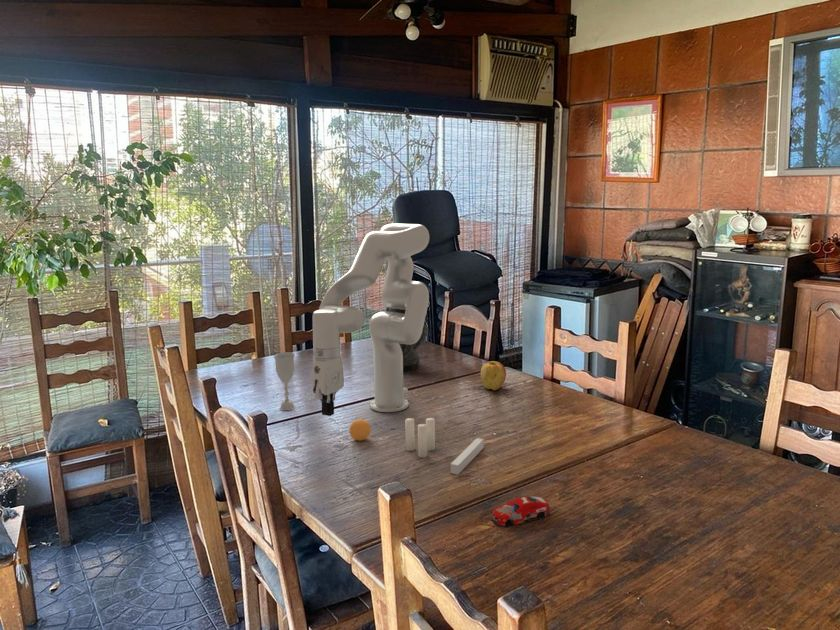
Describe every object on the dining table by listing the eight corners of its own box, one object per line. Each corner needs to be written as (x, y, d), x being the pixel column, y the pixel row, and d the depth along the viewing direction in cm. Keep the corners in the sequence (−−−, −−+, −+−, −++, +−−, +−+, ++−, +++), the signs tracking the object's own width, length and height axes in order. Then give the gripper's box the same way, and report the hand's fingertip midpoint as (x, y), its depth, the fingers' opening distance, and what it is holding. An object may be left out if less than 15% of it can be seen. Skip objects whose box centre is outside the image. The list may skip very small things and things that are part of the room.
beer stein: (378, 361, 259) (376, 302, 254) (424, 359, 261) (423, 300, 256) (379, 373, 243) (378, 310, 238) (429, 370, 245) (428, 308, 240)
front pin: (408, 446, 173) (407, 417, 171) (416, 448, 171) (415, 418, 170) (404, 450, 170) (403, 420, 169) (412, 451, 169) (411, 421, 168)
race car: (499, 530, 130) (499, 513, 129) (487, 518, 135) (487, 501, 134) (553, 518, 135) (553, 501, 134) (540, 506, 140) (540, 490, 139)
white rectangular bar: (476, 446, 172) (476, 438, 171) (483, 447, 171) (483, 439, 171) (450, 473, 156) (450, 463, 156) (458, 474, 155) (458, 465, 155)
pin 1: (420, 453, 168) (420, 423, 166) (428, 454, 167) (428, 424, 165) (416, 456, 166) (416, 426, 164) (424, 458, 165) (424, 427, 163)
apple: (511, 389, 220) (511, 362, 218) (491, 394, 215) (492, 366, 213) (494, 383, 228) (494, 356, 226) (475, 387, 223) (475, 360, 221)
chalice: (292, 412, 201) (289, 358, 197) (273, 411, 202) (269, 357, 199) (301, 404, 208) (298, 352, 204) (282, 403, 209) (279, 351, 206)
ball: (357, 434, 182) (356, 414, 181) (374, 437, 179) (374, 417, 178) (345, 441, 177) (344, 421, 175) (363, 445, 174) (363, 425, 173)
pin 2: (428, 446, 173) (428, 417, 171) (436, 447, 172) (436, 418, 170) (424, 449, 170) (424, 420, 169) (432, 451, 169) (432, 421, 168)
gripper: (322, 359, 169) (323, 424, 172) (352, 348, 182) (352, 409, 185) (299, 356, 172) (301, 420, 175) (330, 346, 185) (331, 405, 188)
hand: (327, 414), depth 180 cm, fingers closed
